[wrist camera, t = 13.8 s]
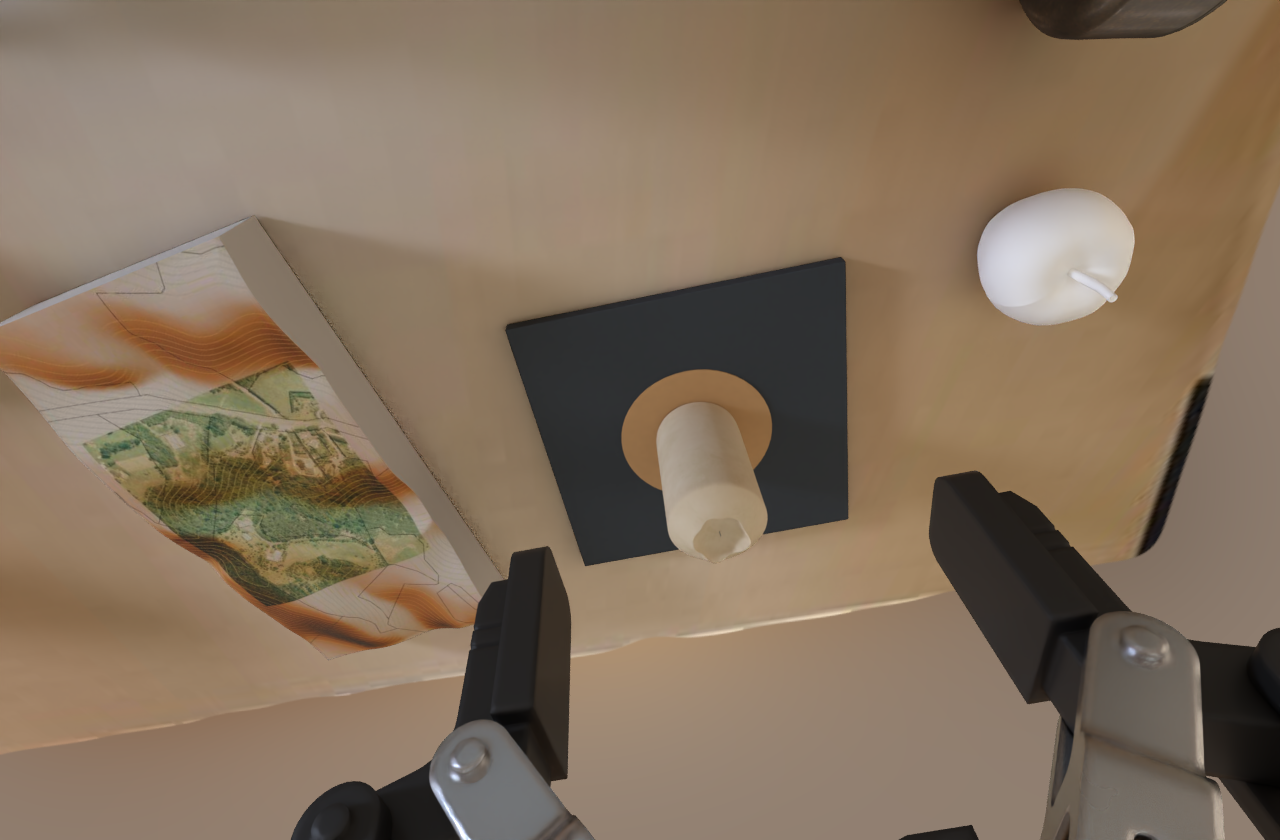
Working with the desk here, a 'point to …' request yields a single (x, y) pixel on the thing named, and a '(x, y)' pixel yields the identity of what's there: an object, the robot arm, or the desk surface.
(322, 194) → the desk surface
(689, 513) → the candle
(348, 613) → the topographic model
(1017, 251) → the plain white apple
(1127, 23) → the alarm clock
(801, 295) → the mat
